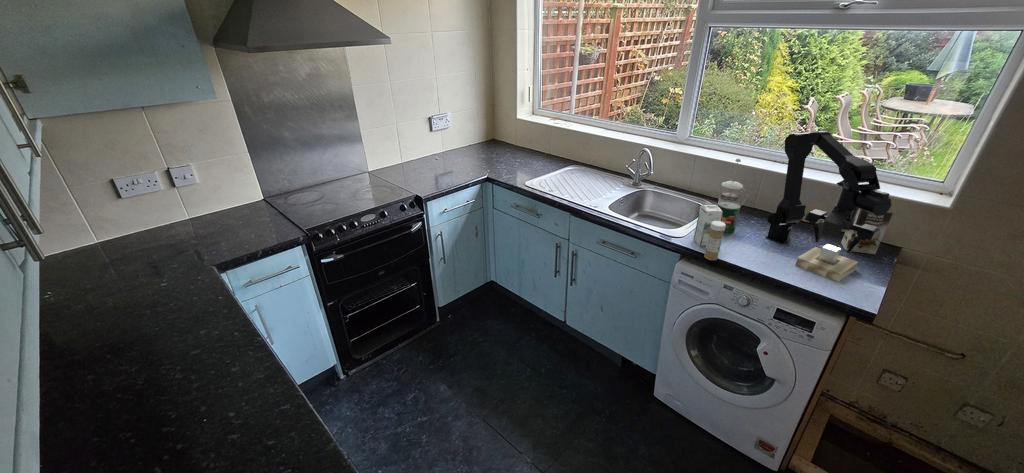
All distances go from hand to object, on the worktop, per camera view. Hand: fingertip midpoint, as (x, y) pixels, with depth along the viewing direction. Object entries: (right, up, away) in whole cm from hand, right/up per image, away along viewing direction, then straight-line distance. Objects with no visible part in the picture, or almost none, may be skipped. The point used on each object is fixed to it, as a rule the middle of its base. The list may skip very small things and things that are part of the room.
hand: (832, 247), depth 142 cm
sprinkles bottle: (-35, -4, +10) cm, 37 cm away
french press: (-14, +12, +42) cm, 46 cm away
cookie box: (+20, -1, +15) cm, 25 cm away
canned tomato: (-21, +6, +30) cm, 37 cm away
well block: (0, -7, +4) cm, 8 cm away
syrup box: (-33, +1, +20) cm, 39 cm away
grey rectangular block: (0, -6, +3) cm, 7 cm away
